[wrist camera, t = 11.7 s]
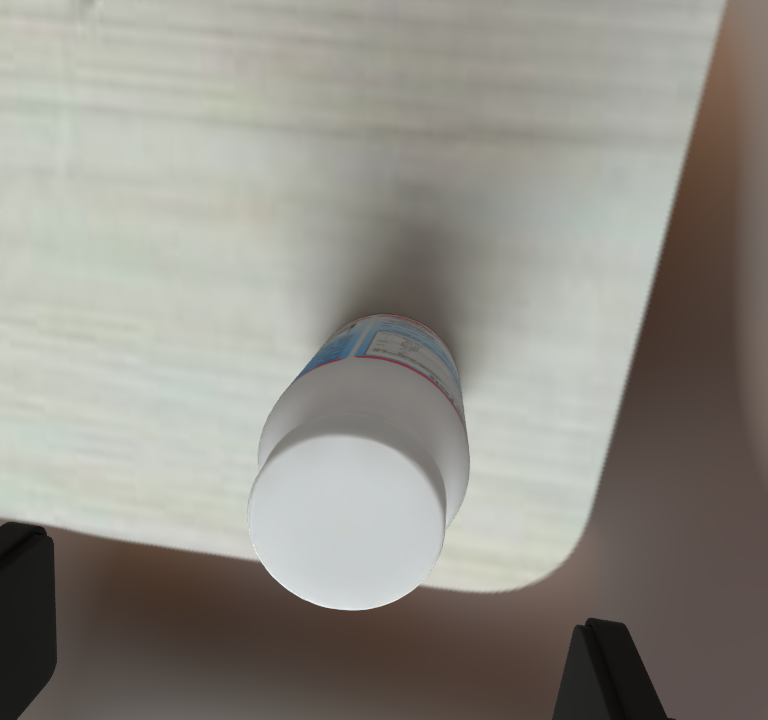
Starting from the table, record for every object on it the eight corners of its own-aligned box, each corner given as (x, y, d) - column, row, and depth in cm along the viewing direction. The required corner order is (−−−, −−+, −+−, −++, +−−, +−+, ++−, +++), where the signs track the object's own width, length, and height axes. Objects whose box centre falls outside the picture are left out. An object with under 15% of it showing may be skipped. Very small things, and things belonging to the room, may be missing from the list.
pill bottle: (334, 461, 25) (251, 652, 14) (301, 326, 24) (181, 424, 13) (473, 440, 24) (496, 626, 14) (447, 298, 23) (450, 378, 12)
